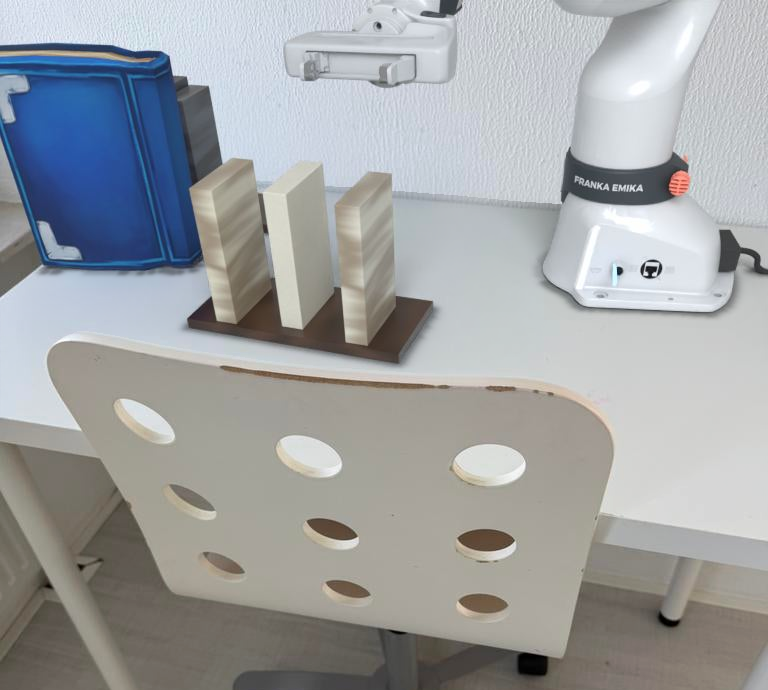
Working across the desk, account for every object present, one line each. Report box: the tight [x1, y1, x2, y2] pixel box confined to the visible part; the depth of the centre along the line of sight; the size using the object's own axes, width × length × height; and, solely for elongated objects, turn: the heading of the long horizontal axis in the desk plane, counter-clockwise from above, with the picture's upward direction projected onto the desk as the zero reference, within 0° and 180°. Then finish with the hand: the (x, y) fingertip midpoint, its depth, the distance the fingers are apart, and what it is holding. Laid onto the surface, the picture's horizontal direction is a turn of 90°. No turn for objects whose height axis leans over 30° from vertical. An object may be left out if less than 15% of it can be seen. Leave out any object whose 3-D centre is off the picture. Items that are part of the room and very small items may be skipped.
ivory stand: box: [186, 157, 434, 365], centre depth 84 cm, size 26×12×16 cm, turn 69°
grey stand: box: [173, 75, 269, 234], centre depth 107 cm, size 17×10×17 cm, turn 69°
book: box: [0, 42, 203, 271], centre depth 94 cm, size 22×7×25 cm, turn 84°
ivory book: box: [262, 160, 335, 330], centre depth 84 cm, size 3×9×15 cm, turn 159°
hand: (344, 75), depth 84 cm, fingers open, 8 cm apart
